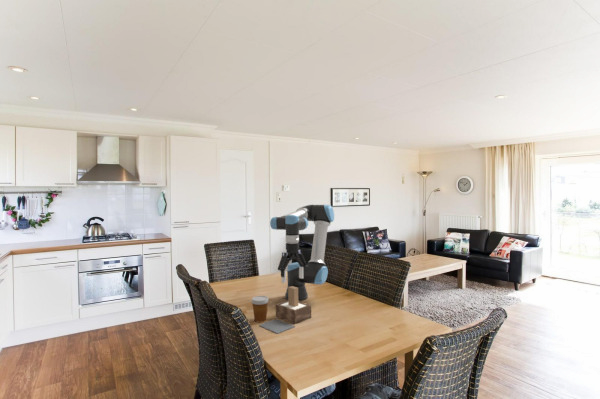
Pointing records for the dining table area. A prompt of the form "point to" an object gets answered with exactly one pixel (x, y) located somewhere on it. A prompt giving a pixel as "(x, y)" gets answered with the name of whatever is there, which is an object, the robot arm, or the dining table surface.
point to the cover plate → (293, 299)
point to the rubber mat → (277, 326)
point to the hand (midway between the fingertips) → (292, 280)
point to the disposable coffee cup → (260, 308)
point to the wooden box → (293, 313)
